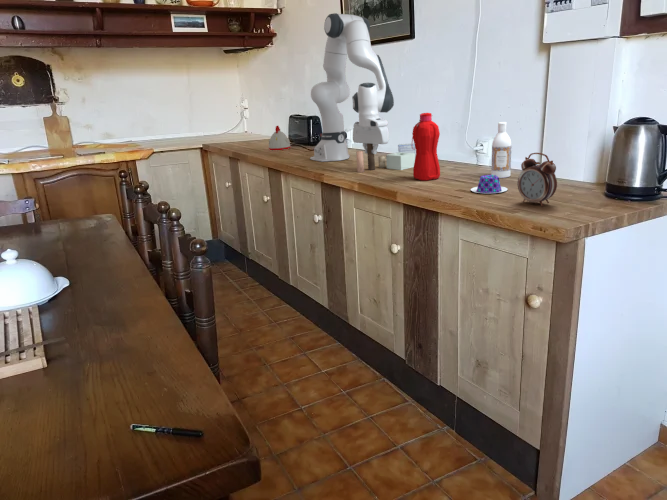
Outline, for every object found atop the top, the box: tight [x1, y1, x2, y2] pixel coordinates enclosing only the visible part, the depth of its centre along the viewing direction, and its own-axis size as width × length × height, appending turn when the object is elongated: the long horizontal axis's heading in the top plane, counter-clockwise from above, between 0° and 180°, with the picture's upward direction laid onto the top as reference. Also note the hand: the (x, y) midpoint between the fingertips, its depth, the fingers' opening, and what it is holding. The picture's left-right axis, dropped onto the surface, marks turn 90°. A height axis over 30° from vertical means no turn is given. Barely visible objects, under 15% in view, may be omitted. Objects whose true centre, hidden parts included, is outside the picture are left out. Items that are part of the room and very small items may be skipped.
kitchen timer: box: [268, 125, 292, 151], centre depth 330 cm, size 14×14×15 cm
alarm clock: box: [517, 152, 558, 207], centre depth 150 cm, size 11×5×15 cm, turn 33°
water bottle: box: [411, 112, 441, 182], centre depth 198 cm, size 9×11×25 cm
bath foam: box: [490, 121, 513, 179], centre depth 192 cm, size 7×7×20 cm
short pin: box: [377, 155, 386, 169], centre depth 234 cm, size 3×3×5 cm
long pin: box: [366, 143, 376, 171], centre depth 229 cm, size 3×3×14 cm
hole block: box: [385, 151, 415, 171], centre depth 230 cm, size 9×9×6 cm
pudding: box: [470, 174, 508, 195], centre depth 173 cm, size 12×12×5 cm
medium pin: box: [356, 150, 365, 173], centre depth 226 cm, size 3×3×9 cm
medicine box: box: [397, 143, 416, 157], centre depth 241 cm, size 8×4×9 cm, turn 84°
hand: (370, 153), depth 229 cm, fingers closed on long pin, 3 cm apart
